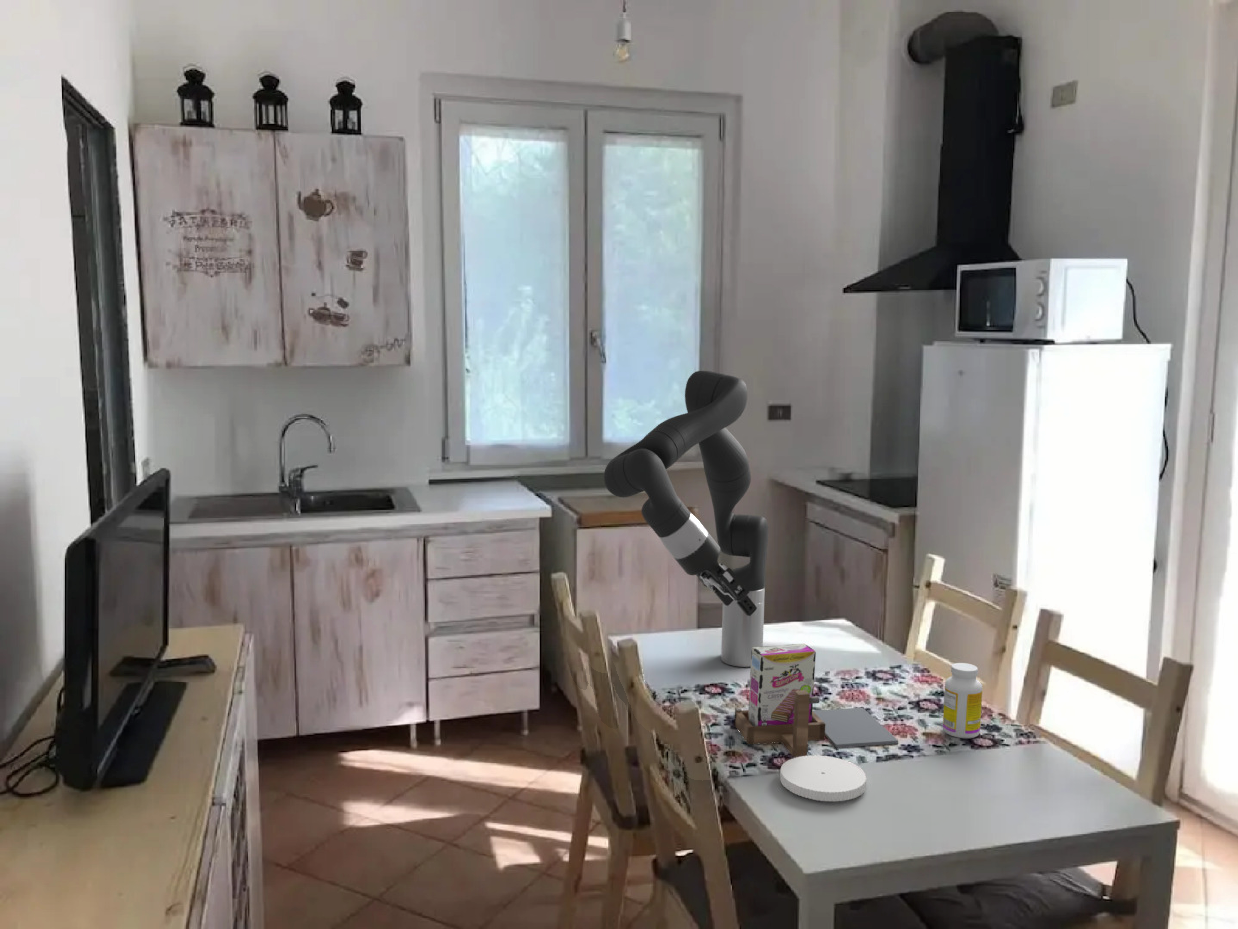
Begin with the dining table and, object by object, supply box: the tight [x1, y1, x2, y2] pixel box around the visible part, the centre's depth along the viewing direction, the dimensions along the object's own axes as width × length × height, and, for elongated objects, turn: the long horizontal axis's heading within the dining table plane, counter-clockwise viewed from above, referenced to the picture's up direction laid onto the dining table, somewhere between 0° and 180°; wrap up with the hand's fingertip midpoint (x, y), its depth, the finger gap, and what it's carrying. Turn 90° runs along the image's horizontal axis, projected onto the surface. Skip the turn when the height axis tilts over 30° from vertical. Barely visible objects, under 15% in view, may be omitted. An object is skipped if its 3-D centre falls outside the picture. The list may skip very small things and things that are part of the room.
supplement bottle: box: [942, 662, 983, 739], centre depth 194 cm, size 7×7×13 cm
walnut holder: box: [734, 690, 826, 758], centre depth 193 cm, size 24×15×12 cm, turn 10°
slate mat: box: [812, 707, 899, 749], centre depth 196 cm, size 16×12×1 cm
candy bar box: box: [748, 643, 817, 726], centre depth 192 cm, size 11×5×16 cm, turn 107°
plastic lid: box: [779, 754, 868, 802], centre depth 172 cm, size 14×14×2 cm
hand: (741, 607), depth 187 cm, fingers open, 8 cm apart
